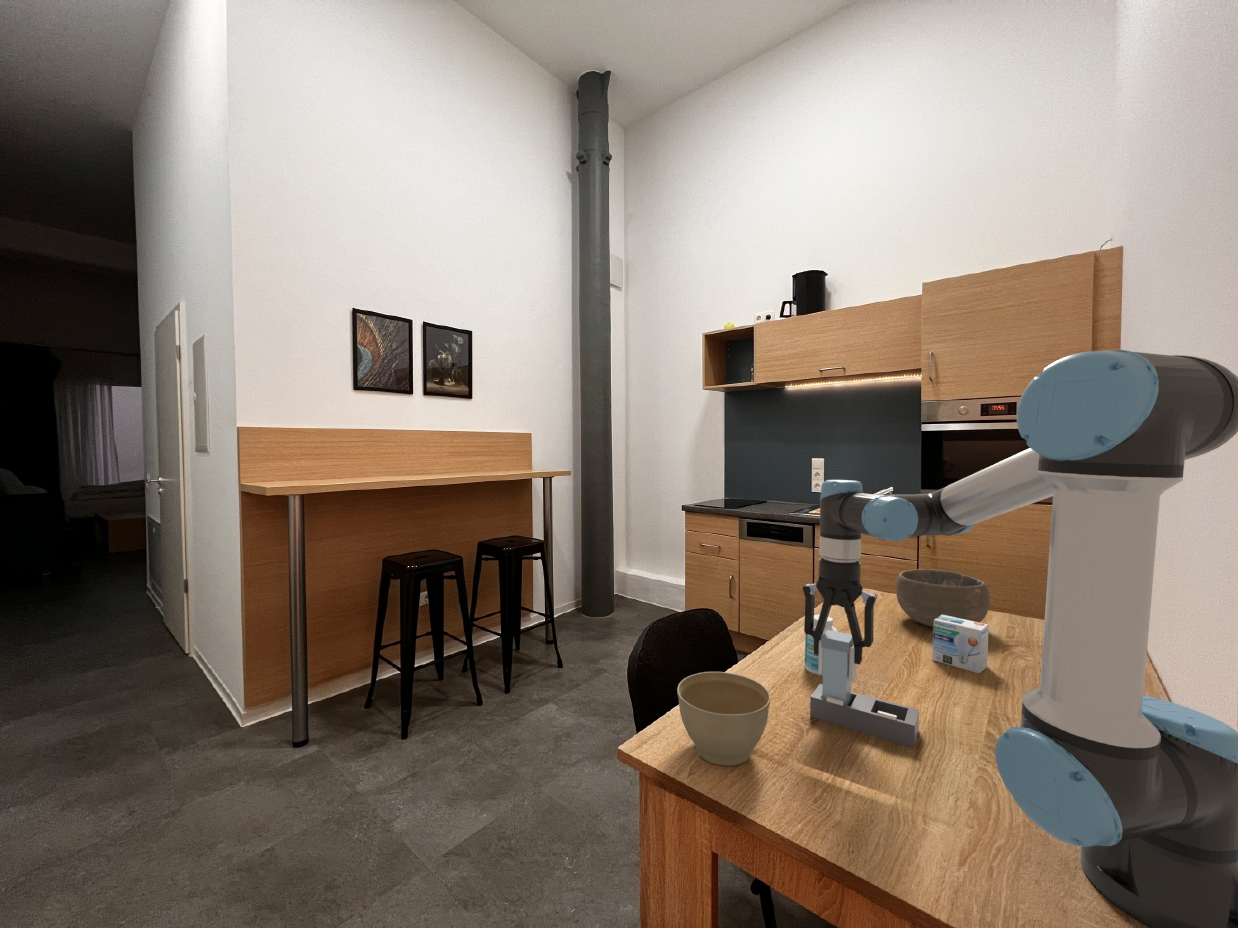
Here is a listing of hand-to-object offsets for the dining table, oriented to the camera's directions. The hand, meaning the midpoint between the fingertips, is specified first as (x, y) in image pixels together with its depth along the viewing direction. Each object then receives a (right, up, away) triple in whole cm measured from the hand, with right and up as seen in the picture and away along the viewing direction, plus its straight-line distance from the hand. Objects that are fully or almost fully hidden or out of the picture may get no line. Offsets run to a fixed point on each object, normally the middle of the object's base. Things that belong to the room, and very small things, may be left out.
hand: (837, 674), depth 102 cm
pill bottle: (+5, -9, +22) cm, 24 cm away
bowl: (+56, -8, +57) cm, 81 cm away
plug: (0, -5, 0) cm, 5 cm away
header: (+4, -9, -3) cm, 10 cm away
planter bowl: (-25, -10, -10) cm, 29 cm away
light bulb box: (+43, -9, +28) cm, 52 cm away
